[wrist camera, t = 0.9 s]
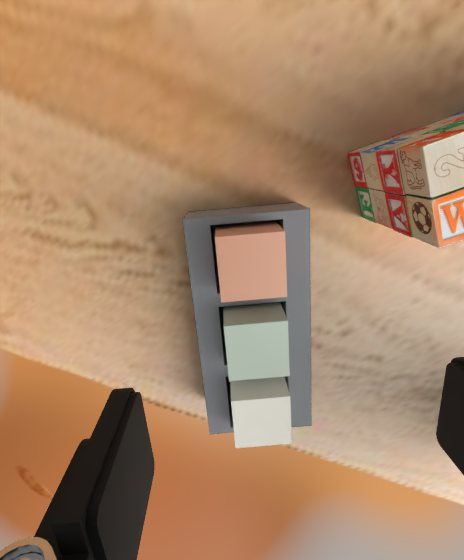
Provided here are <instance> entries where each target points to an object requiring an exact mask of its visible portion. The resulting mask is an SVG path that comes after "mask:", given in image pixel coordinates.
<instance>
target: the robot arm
mask: <svg viewBox="0 0 464 560" xmlns="http://www.w3.org/2000/svg"><path fill="white" fill-rule="evenodd" d="M436 435H437V440H438V442H439V444H440V446H441V447H442V448H443V450H444V451H445V452H446V453H447V455H448V456H449V457H450V459H451V460H452V461H453V462H454V464H455V465H456V466H457V467H458V469H459V470H460V471H461V472H462V474H463V475H464V357H458V358H454V359H453V360H452V361H451V363H449V364H448V365H447V367H446V373H445V380H444V386H443V393H442V399H441V406H440V412H439V419H438V425H437V432H436ZM153 475H154V458H153V453H152V448H151V443H150V438H149V433H148V428H147V423H146V418H145V413H144V408H143V402H142V397H141V394H140V392H135V391H134V389H133V388H123V389H114V390H112V392H111V394H110V396H109V399H108V400H107V403H106V405H105V407H104V409H103V411H102V414H101V416H100V418H99V420H98V422H97V424H96V427H95V429H94V431H93V433H92V436H91V437H90V439H84V440H82V441H81V443H80V444H79V446H78V448H77V450H76V452H75V454H74V456H73V458H72V460H71V462H70V464H69V466H68V468H67V470H66V472H65V475H64V476H63V478H62V480H61V483H60V485H59V487H58V489H57V491H56V493H55V495H54V497H53V499H52V501H51V503H50V505H49V507H48V509H47V511H46V513H45V515H44V517H43V519H42V522H41V524H40V526H39V528H38V530H37V532H36V534H35V536H34V537H28V538H25V539H22V540H18V541H16V542H14V543H12V544H11V545H9V546H7V547H5V548H4V549H2V550H1V551H0V560H136V559H137V554H138V549H139V545H140V540H141V534H142V530H143V525H144V520H145V515H146V509H147V505H148V500H149V495H150V490H151V485H152V480H153Z"/></svg>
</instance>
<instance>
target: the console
mask: <svg viewBox="0 0 464 560" xmlns="http://www.w3.org/2000/svg"><path fill="white" fill-rule="evenodd" d="M265 221H276V222H277V223H278V224H279V225H280V226H281V228H282V229H283V230H284V231H285V241H286V273H287V297H280V298H268V299H257V300H245V301H234V302H222V303H221V295H220V285H219V275H218V265H217V255H216V244H215V230H216V226H218V225H230V224H241V223H253V222H265ZM183 228H184V236H185V244H186V251H187V259H188V267H189V275H190V283H191V291H192V298H193V306H194V314H195V322H196V330H197V338H198V345H199V353H200V361H201V369H202V377H203V385H204V392H205V400H206V408H207V416H208V424H209V431H210V434H220V433H231V432H234V426H233V416H232V406H231V388H230V381H229V376H228V366H227V356H226V346H225V335H224V316H223V306H234V305H246V304H258V303H269V302H280V303H281V306H282V308H283V310H284V313H285V315H286V317H287V320H288V337H289V369H290V376H284V377H285V380H286V383H287V387H288V390H289V394H290V401H291V427H300V426H311V299H310V209H309V208H307V207H305V206H303V205H301V204H298V203H286V204H274V205H262V206H251V207H239V208H227V209H216V210H204V211H193V212H188V213H187V215H186V216H185V217H184V219H183Z"/></svg>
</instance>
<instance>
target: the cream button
mask: <svg viewBox="0 0 464 560" xmlns="http://www.w3.org/2000/svg"><path fill="white" fill-rule="evenodd" d="M230 388H231V406H232V416H233V426H234V437H235V447H236V448H244V447H256V446H268V445H279V444H291V443H292V433H291V401H290V394H289V390H288V387H287V383H286V380H285V377H273V378H261V379H250V380H238V381H230Z"/></svg>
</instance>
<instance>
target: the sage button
mask: <svg viewBox="0 0 464 560" xmlns="http://www.w3.org/2000/svg"><path fill="white" fill-rule="evenodd" d="M223 316H224V335H225V346H226V356H227V366H228V376H229V381H238V380H250V379H261V378H273V377H284V376H290V369H289V337H288V320H287V317H286V315H285V313H284V310H283V308H282V306H281V303H280V302H269V303H258V304H246V305H234V306H223Z"/></svg>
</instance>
